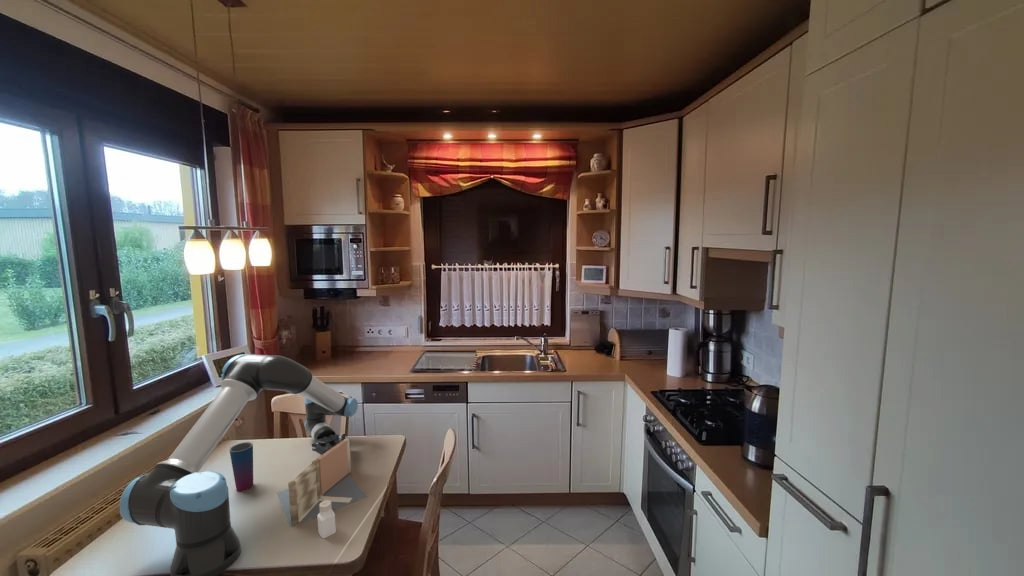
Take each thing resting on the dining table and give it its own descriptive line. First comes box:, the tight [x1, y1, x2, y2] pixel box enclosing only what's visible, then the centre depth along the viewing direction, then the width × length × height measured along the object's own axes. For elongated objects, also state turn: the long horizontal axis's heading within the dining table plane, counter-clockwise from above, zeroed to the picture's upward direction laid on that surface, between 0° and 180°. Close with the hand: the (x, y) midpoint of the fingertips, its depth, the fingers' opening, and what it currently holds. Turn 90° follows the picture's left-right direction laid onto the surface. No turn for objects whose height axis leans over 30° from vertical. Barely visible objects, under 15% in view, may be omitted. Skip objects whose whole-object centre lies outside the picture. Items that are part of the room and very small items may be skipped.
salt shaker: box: [316, 500, 337, 539], centre depth 119 cm, size 4×4×10 cm
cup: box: [229, 441, 254, 492], centre depth 142 cm, size 7×7×15 cm
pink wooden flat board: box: [315, 437, 352, 495], centre depth 144 cm, size 15×2×13 cm, turn 164°
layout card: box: [276, 472, 367, 528], centre depth 138 cm, size 23×22×1 cm
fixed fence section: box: [287, 459, 321, 526], centre depth 129 cm, size 14×2×13 cm, turn 174°
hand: (342, 458), depth 150 cm, fingers closed
